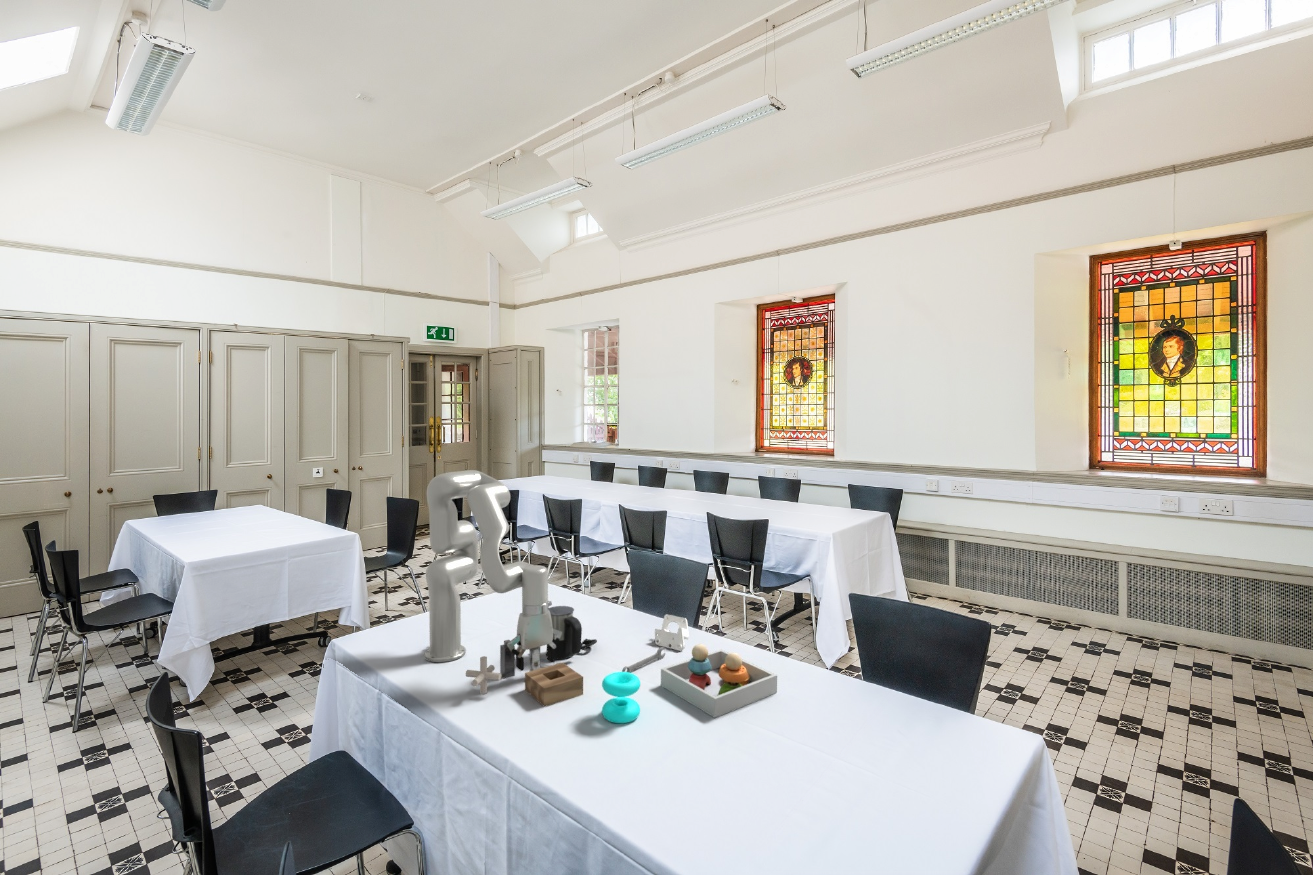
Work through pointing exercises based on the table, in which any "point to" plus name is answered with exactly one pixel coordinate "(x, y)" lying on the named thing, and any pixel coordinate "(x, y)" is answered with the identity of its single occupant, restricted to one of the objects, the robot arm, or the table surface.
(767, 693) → the parts tray
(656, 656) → the combination wrench
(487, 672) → the pipe connector
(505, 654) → the square bit
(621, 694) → the donuts
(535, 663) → the round bit
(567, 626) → the milk frother
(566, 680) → the socket block
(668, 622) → the mounting bracket
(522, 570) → the robot arm
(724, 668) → the stacking toy figures
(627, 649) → the table surface
